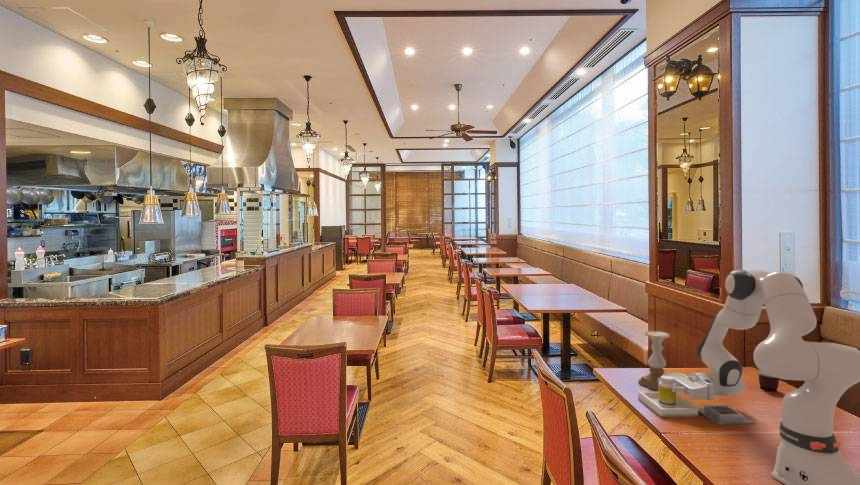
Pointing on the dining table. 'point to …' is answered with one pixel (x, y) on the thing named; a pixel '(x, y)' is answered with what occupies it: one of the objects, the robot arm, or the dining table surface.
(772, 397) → the dining table surface
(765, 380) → the mate gourd
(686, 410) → the tray
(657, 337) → the candle holder
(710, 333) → the robot arm
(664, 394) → the pill bottle
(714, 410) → the steel collar
